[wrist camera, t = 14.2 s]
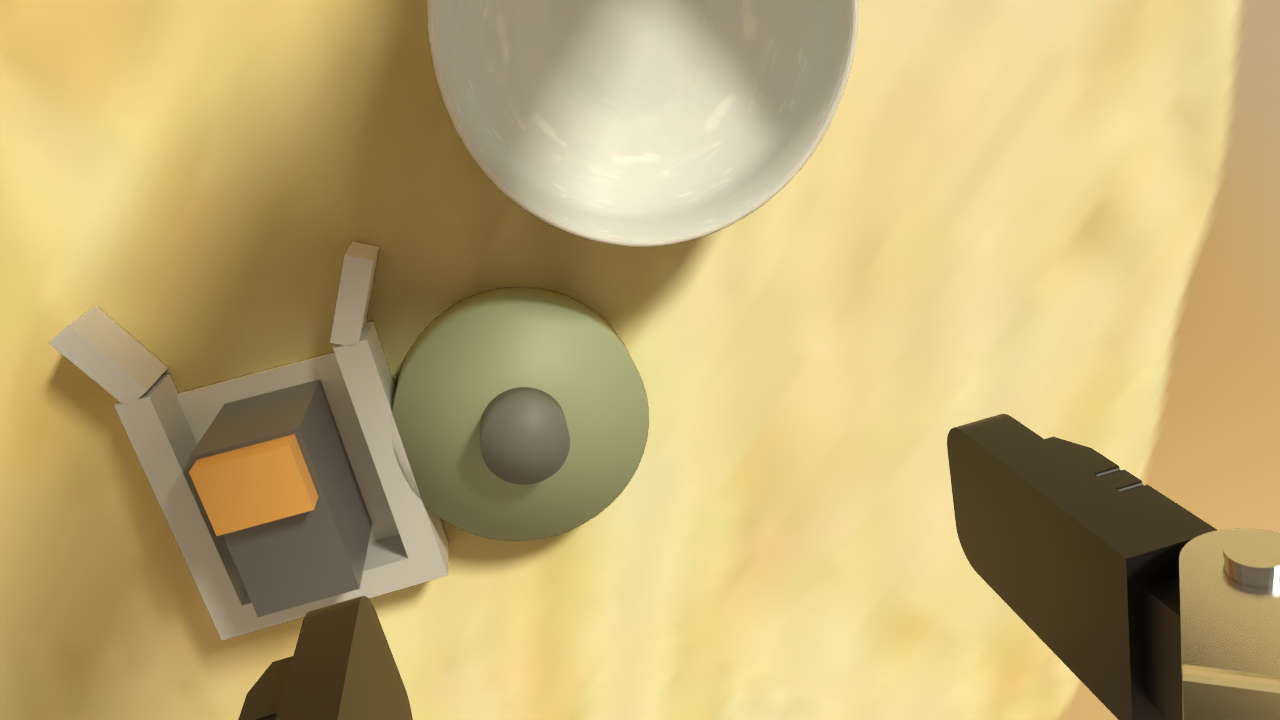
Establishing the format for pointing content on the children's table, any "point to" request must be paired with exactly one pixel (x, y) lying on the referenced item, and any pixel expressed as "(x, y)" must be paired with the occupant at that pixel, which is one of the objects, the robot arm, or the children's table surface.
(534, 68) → the cereal bowl
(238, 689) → the children's table surface
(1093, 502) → the robot arm
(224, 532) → the orange-panel grey block
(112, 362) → the grey bracket and lid
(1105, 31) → the children's table surface
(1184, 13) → the children's table surface
